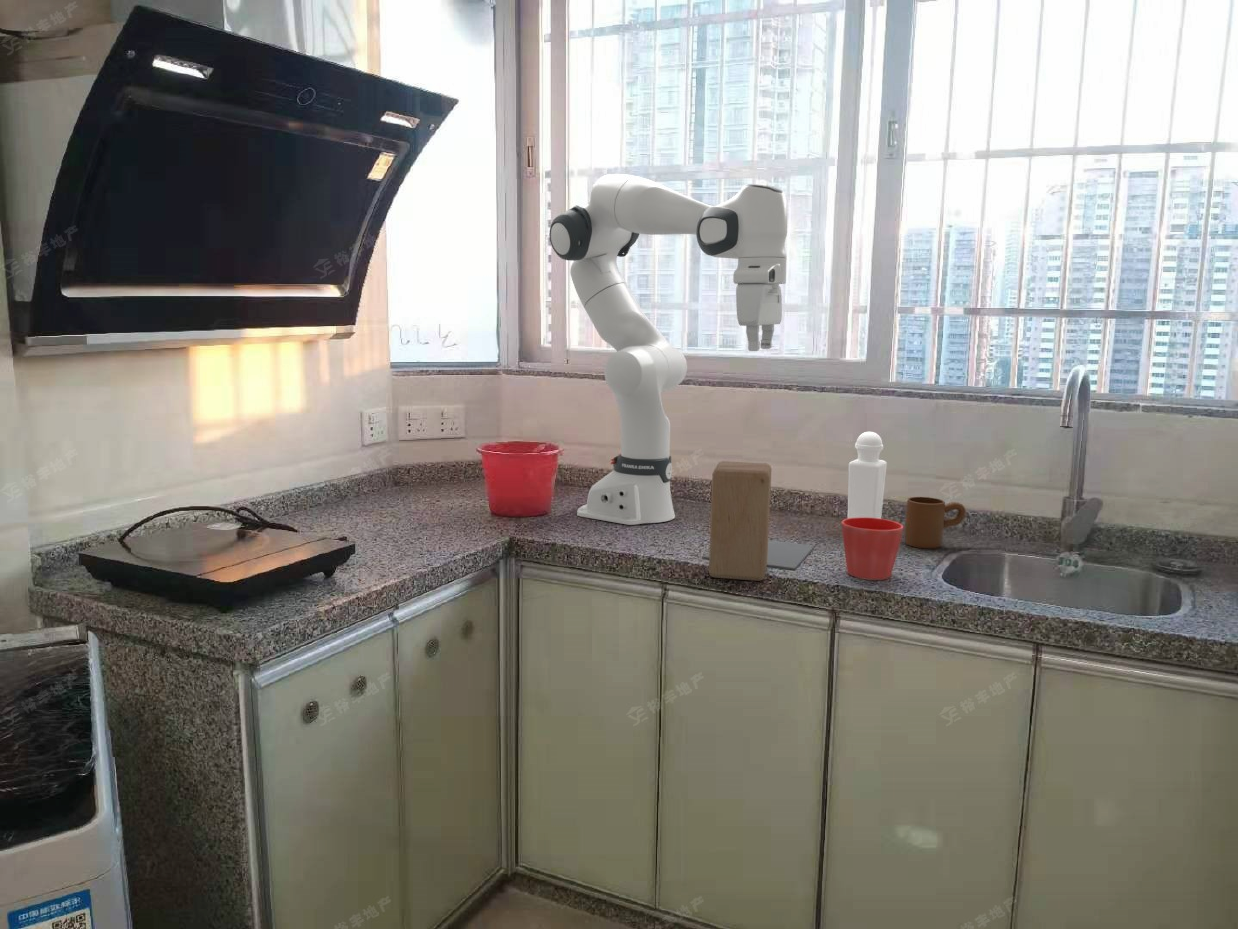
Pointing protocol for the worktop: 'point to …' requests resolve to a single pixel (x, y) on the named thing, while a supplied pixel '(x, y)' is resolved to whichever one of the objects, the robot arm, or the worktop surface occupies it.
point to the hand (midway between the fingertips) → (760, 349)
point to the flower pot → (871, 546)
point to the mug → (929, 521)
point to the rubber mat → (784, 554)
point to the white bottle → (866, 478)
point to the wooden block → (740, 520)
